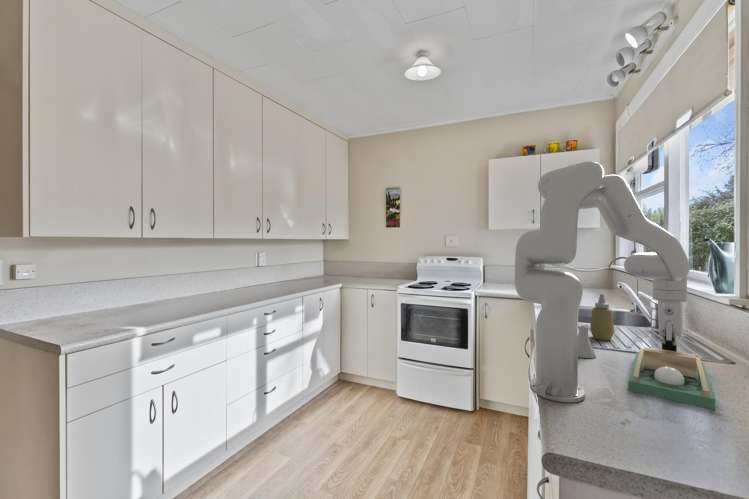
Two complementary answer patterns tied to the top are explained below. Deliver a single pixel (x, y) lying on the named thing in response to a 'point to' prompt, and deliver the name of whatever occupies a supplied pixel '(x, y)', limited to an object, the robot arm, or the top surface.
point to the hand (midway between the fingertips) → (669, 357)
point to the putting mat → (691, 393)
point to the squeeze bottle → (602, 320)
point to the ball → (669, 376)
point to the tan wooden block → (670, 361)
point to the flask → (584, 343)
